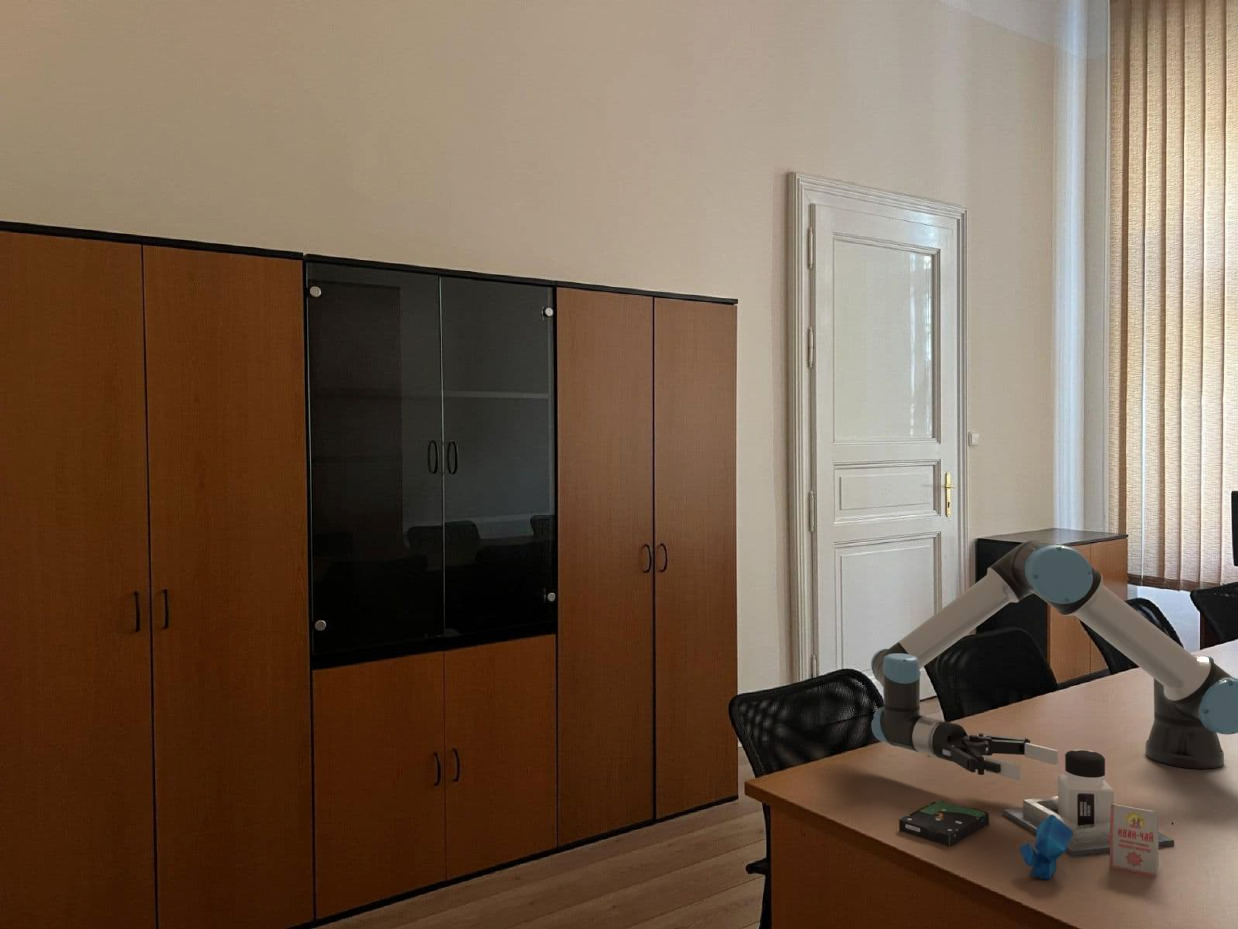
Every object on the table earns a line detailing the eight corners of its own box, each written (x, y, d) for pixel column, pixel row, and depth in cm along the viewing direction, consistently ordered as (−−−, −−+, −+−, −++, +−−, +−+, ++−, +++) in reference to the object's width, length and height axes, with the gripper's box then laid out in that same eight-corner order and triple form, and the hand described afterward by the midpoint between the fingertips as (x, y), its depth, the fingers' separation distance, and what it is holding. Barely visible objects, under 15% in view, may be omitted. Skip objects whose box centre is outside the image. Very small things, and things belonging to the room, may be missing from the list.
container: (1114, 833, 174) (1114, 760, 174) (1067, 830, 176) (1067, 758, 176) (1102, 817, 182) (1101, 747, 182) (1057, 814, 184) (1057, 745, 183)
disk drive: (951, 851, 172) (990, 826, 182) (951, 835, 172) (990, 811, 182) (898, 834, 179) (938, 811, 190) (897, 819, 179) (938, 797, 190)
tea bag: (1113, 859, 166) (1112, 800, 166) (1158, 868, 162) (1158, 808, 162) (1109, 867, 163) (1109, 807, 163) (1156, 876, 159) (1155, 815, 159)
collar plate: (1095, 805, 191) (1095, 787, 191) (1174, 845, 171) (1174, 825, 171) (1003, 814, 186) (1003, 796, 186) (1072, 857, 167) (1072, 836, 167)
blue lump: (1013, 839, 158) (1027, 800, 167) (1016, 887, 159) (1030, 845, 169) (1063, 849, 154) (1075, 808, 163) (1066, 898, 155) (1077, 855, 165)
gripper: (975, 745, 210) (1072, 771, 193) (903, 770, 195) (1001, 799, 178) (975, 711, 210) (1072, 733, 193) (903, 732, 195) (1001, 758, 178)
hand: (1038, 765), depth 186 cm, fingers open, 13 cm apart
